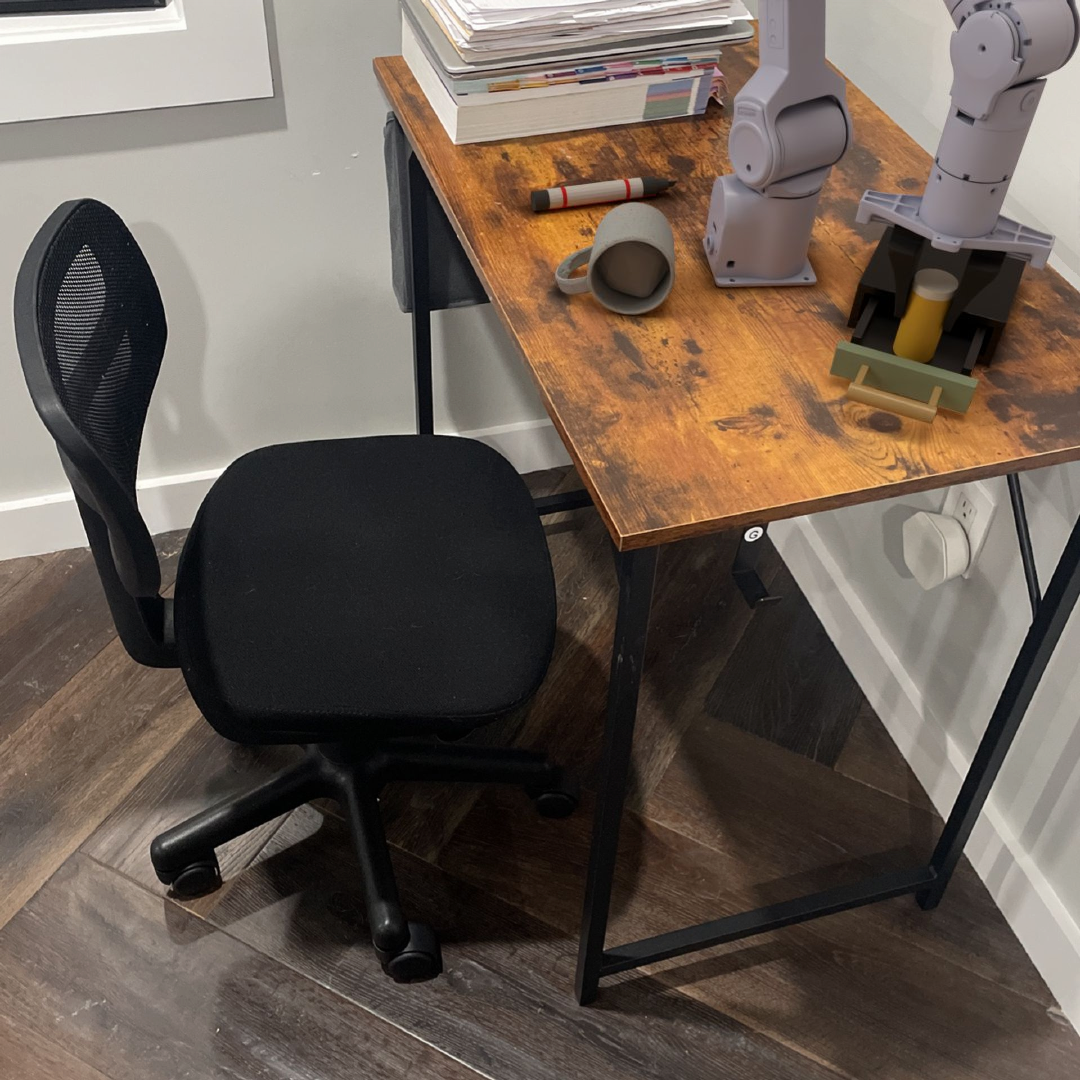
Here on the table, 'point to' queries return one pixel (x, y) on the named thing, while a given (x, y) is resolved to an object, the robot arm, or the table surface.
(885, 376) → the drawer
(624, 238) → the ceramic mug
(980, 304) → the cabinet
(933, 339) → the pill bottle
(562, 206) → the marker
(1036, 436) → the table surface
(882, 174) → the table surface
